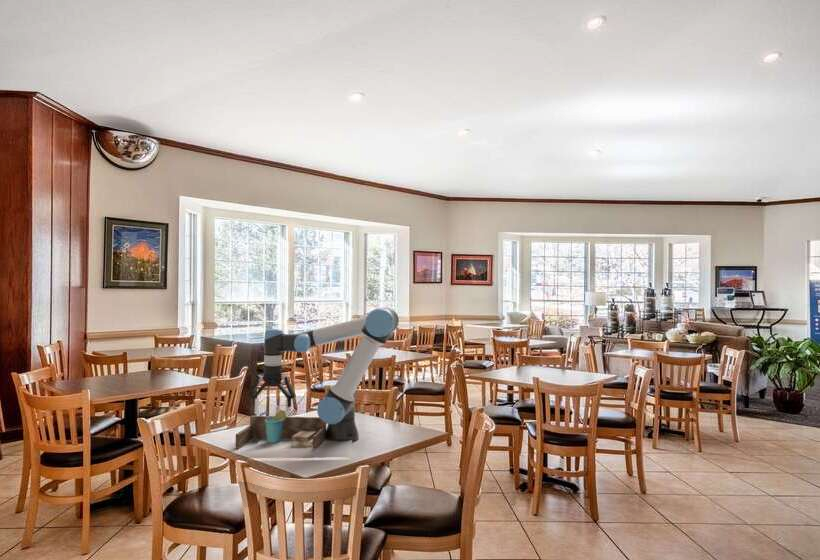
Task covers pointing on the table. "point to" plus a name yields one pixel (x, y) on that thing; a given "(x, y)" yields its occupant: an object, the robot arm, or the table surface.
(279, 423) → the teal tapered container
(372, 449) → the table surface
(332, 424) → the robot arm
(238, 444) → the tray
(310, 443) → the offcut middle
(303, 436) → the offcut top
